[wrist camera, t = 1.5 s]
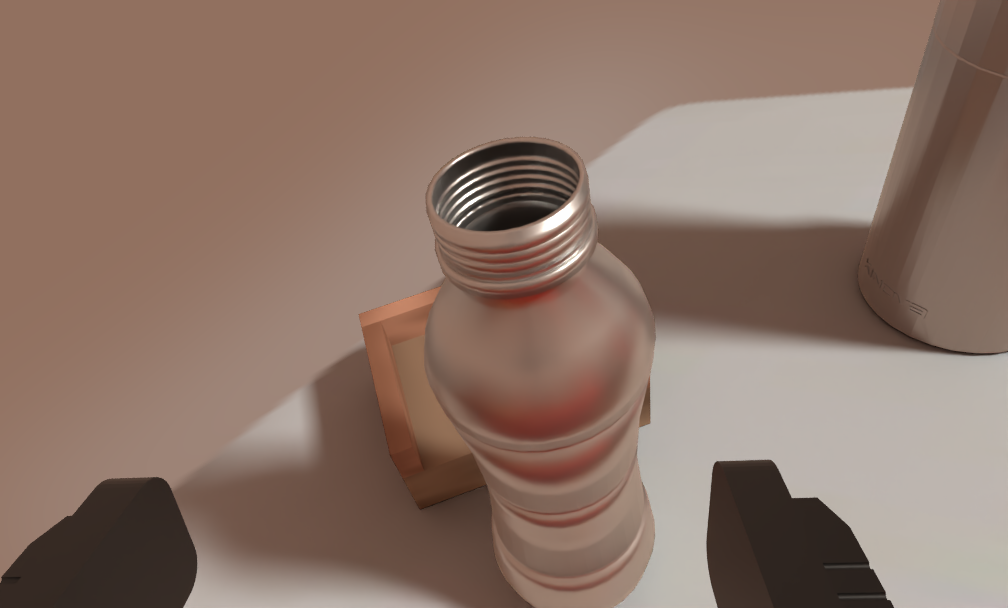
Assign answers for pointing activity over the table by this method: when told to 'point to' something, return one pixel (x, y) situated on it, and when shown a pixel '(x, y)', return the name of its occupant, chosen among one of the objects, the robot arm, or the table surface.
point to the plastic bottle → (543, 369)
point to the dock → (420, 404)
